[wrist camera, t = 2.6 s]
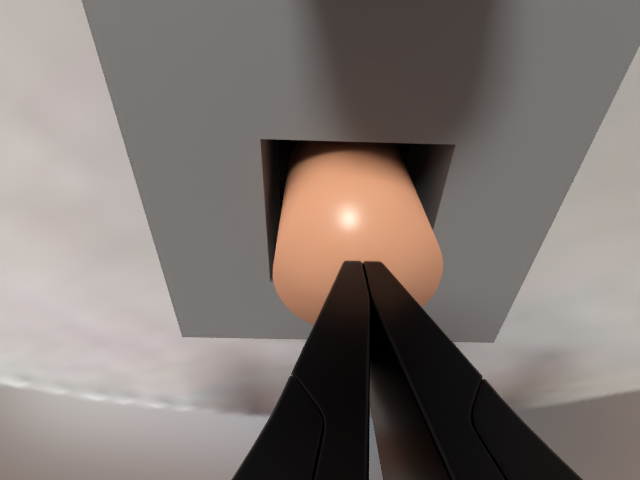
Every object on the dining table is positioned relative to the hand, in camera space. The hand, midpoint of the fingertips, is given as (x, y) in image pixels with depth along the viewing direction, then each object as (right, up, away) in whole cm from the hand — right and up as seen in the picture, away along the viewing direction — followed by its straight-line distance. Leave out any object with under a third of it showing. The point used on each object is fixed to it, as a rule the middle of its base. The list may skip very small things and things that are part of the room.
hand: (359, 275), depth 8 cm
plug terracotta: (0, +3, +4) cm, 5 cm away
